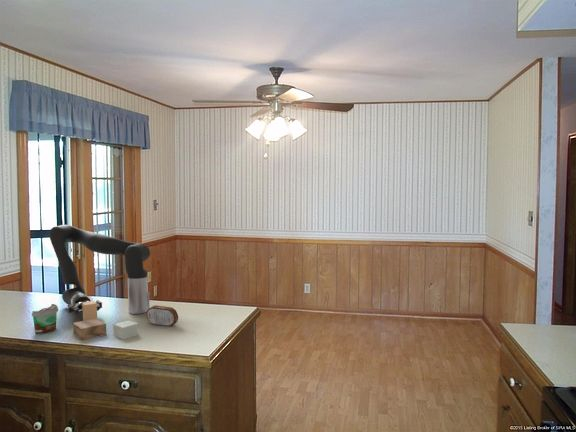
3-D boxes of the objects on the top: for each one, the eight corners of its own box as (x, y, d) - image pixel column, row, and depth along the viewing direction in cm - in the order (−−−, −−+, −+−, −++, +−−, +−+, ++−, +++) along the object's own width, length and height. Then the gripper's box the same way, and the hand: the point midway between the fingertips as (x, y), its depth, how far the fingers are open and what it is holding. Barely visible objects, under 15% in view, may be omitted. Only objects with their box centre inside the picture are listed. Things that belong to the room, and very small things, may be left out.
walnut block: (97, 329, 197) (97, 318, 197) (106, 335, 190) (106, 323, 190) (73, 334, 191) (72, 323, 190) (81, 340, 183) (81, 328, 183)
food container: (45, 336, 188) (44, 312, 187) (32, 335, 189) (31, 311, 189) (65, 326, 200) (64, 304, 199) (53, 325, 202) (52, 303, 201)
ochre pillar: (94, 322, 206) (94, 300, 205) (97, 325, 202) (96, 303, 201) (83, 324, 203) (82, 302, 202) (85, 327, 199) (84, 305, 198)
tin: (178, 325, 201) (178, 307, 201) (174, 328, 198) (174, 309, 198) (150, 322, 206) (149, 304, 206) (145, 324, 203) (145, 306, 203)
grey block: (128, 331, 194) (128, 320, 194) (138, 335, 190) (137, 323, 189) (113, 336, 189) (113, 324, 188) (123, 339, 184) (122, 327, 184)
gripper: (64, 296, 213) (70, 304, 200) (96, 292, 221) (104, 299, 208) (64, 312, 214) (71, 321, 201) (96, 307, 222) (105, 315, 209)
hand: (88, 310), depth 204 cm, fingers open, 8 cm apart
